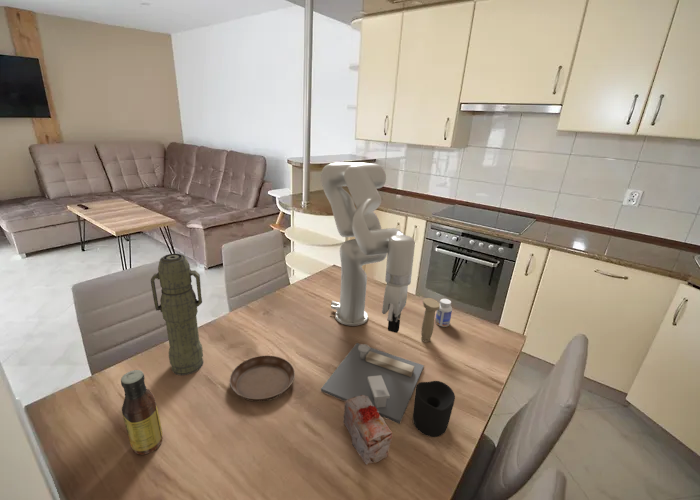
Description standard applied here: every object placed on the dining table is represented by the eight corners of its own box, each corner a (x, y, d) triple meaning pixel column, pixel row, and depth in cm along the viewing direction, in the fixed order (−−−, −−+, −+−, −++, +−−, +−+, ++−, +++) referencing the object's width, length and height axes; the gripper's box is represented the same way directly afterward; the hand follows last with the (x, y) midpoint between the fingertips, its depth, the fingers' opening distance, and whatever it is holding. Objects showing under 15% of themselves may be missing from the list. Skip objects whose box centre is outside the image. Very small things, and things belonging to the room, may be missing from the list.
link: (365, 361, 107) (365, 356, 106) (369, 355, 109) (369, 350, 109) (410, 377, 101) (411, 372, 101) (413, 371, 104) (414, 366, 103)
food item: (394, 459, 78) (399, 426, 74) (363, 473, 74) (367, 440, 71) (365, 415, 89) (368, 384, 86) (337, 425, 86) (339, 394, 82)
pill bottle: (450, 321, 133) (454, 299, 130) (448, 328, 129) (452, 306, 125) (436, 318, 135) (440, 296, 132) (433, 324, 131) (437, 302, 127)
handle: (427, 333, 125) (432, 297, 119) (436, 344, 119) (442, 306, 114) (415, 335, 123) (420, 298, 118) (424, 346, 118) (430, 308, 112)
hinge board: (320, 391, 96) (321, 377, 94) (356, 345, 116) (357, 333, 114) (399, 424, 87) (401, 409, 85) (423, 367, 107) (425, 355, 106)
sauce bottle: (140, 433, 80) (125, 363, 73) (168, 432, 81) (156, 363, 74) (125, 458, 74) (107, 386, 67) (155, 457, 75) (141, 385, 68)
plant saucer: (272, 355, 109) (272, 347, 108) (307, 385, 98) (307, 377, 97) (219, 381, 98) (218, 372, 97) (251, 419, 86) (250, 410, 85)
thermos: (211, 368, 102) (199, 259, 89) (166, 380, 96) (146, 266, 84) (207, 351, 109) (195, 248, 96) (165, 361, 104) (147, 253, 91)
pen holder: (418, 403, 94) (423, 374, 90) (452, 419, 89) (459, 388, 86) (405, 427, 86) (410, 396, 82) (442, 446, 82) (448, 414, 78)
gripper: (394, 266, 109) (389, 316, 115) (377, 283, 96) (373, 339, 102) (417, 270, 106) (411, 322, 112) (403, 289, 93) (397, 346, 100)
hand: (393, 330), depth 107 cm, fingers closed
